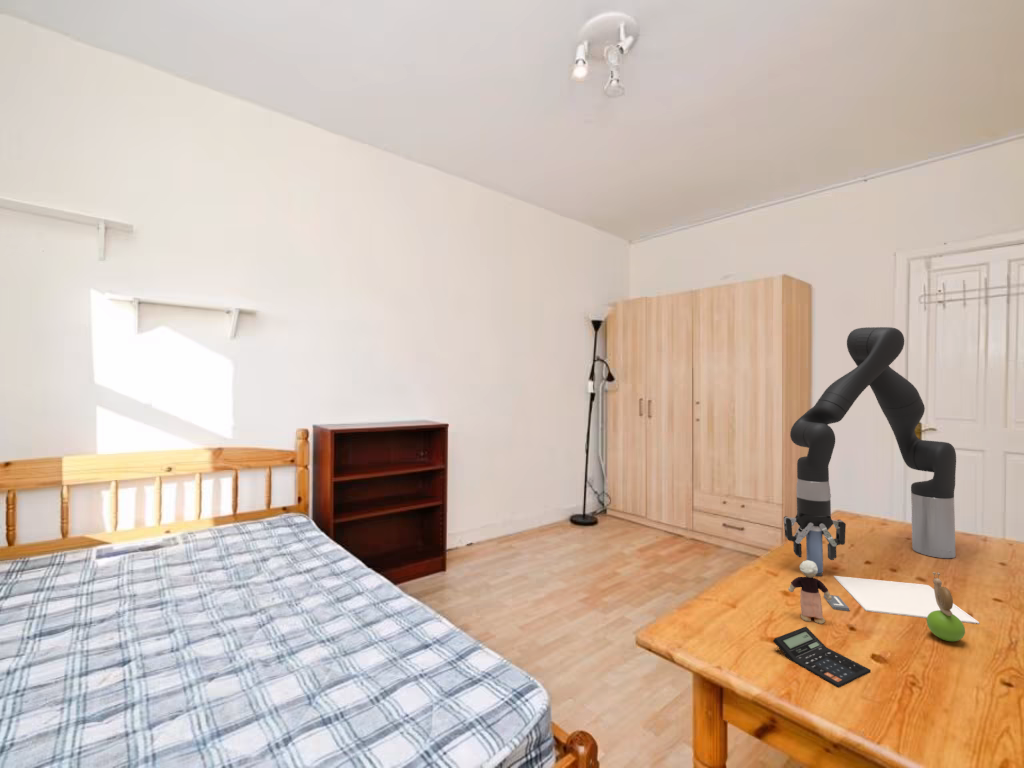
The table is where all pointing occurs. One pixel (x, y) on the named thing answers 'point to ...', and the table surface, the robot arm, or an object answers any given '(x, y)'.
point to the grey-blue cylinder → (815, 548)
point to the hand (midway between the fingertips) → (814, 557)
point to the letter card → (837, 603)
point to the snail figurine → (944, 615)
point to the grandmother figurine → (810, 592)
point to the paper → (897, 598)
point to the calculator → (819, 657)
